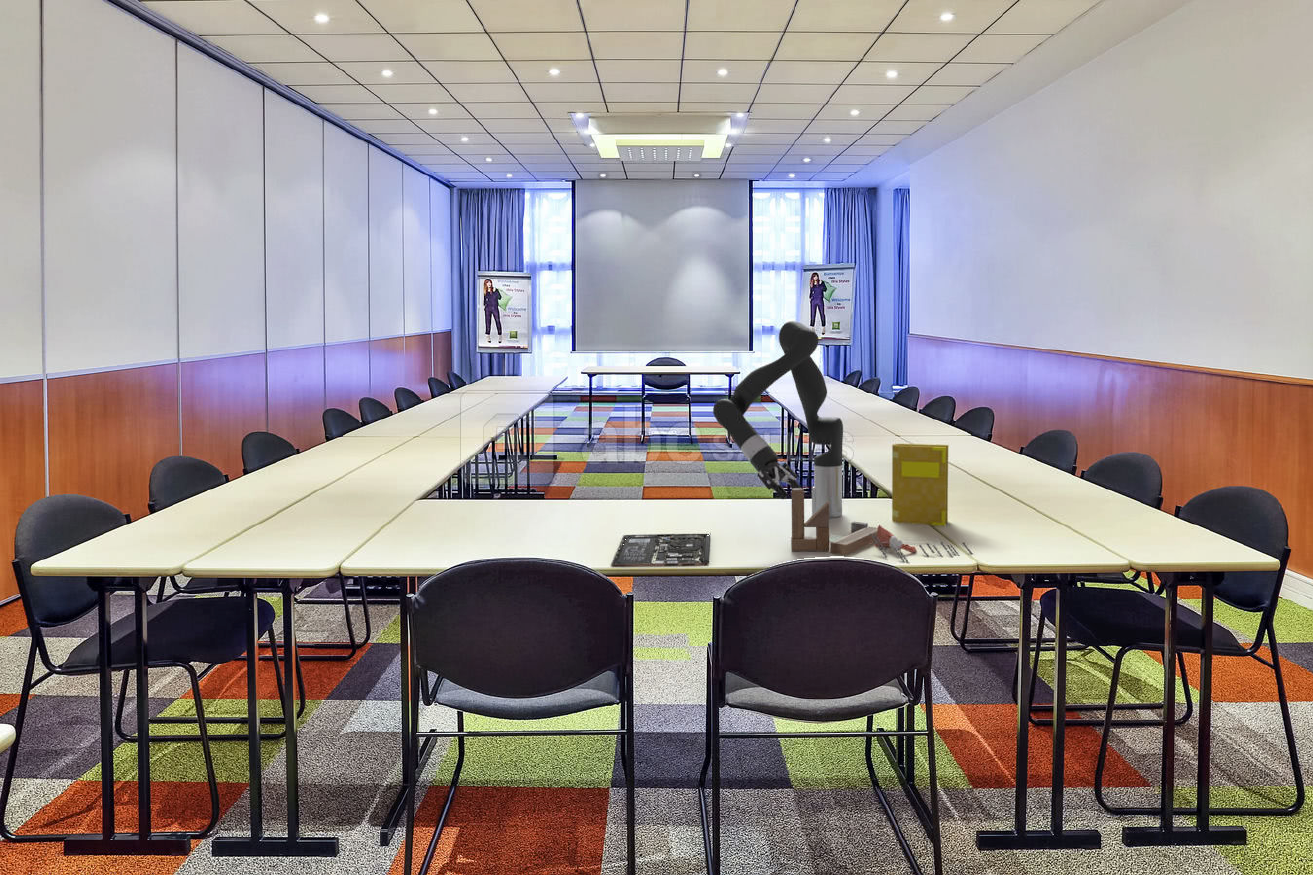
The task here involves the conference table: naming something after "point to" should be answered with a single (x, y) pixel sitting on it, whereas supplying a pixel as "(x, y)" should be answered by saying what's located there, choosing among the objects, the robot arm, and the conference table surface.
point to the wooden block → (808, 525)
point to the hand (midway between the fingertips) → (793, 495)
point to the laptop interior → (663, 550)
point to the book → (920, 484)
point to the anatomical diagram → (887, 538)
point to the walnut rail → (854, 539)
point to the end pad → (833, 537)
